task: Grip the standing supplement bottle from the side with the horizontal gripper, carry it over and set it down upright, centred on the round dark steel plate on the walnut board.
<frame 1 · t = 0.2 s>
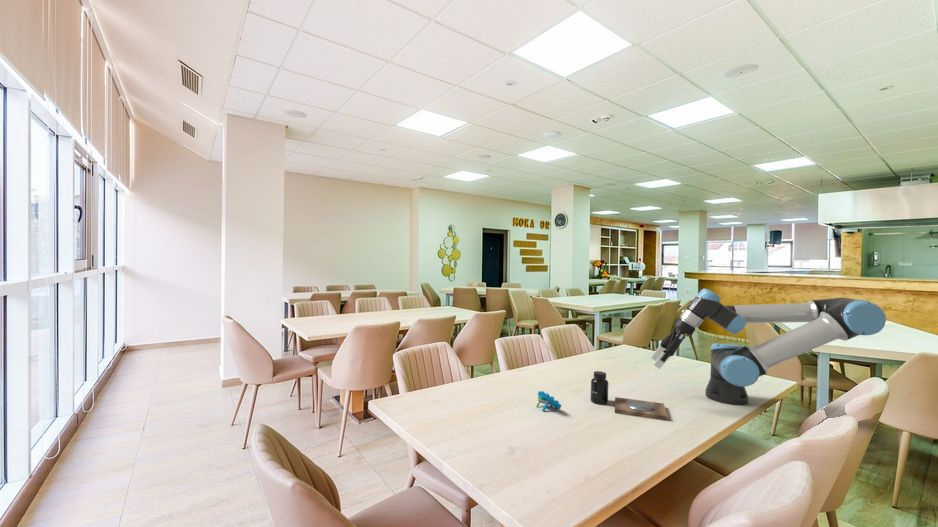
hand: (654, 363, 161), 15 cm above the table, tool tilted 35°, fingers open, 13 cm apart
walnut board: (639, 410, 149), on the table
gear: (548, 409, 149), on the table
supplement bottle: (599, 402, 157), on the table
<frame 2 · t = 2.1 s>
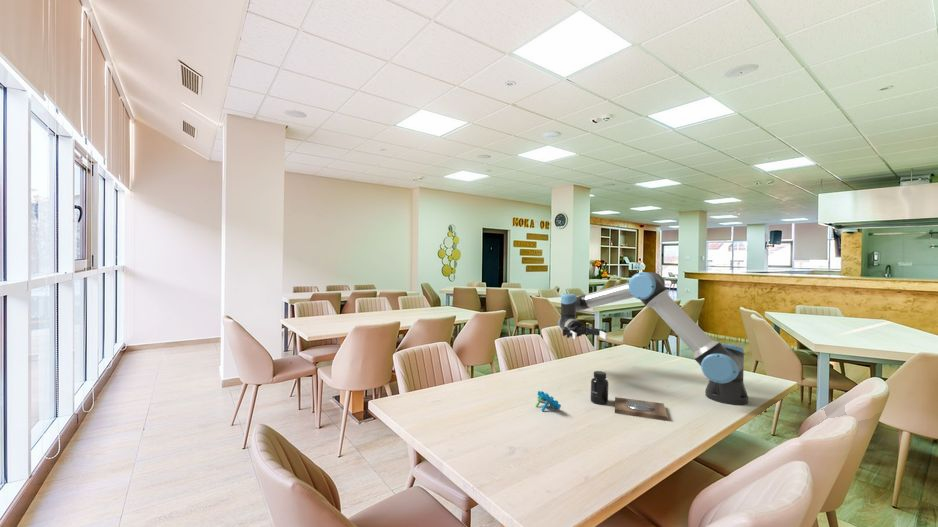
hand: (591, 336, 167), 25 cm above the table, tool horizontal, fingers open, 13 cm apart
nothing on the table moved.
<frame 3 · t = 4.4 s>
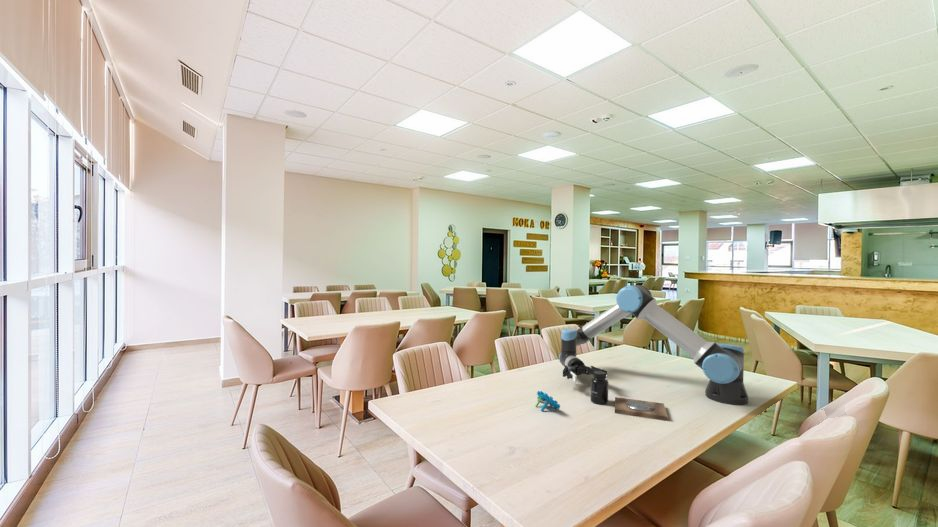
hand: (591, 379, 165), 7 cm above the table, tool horizontal, fingers open, 13 cm apart
nothing on the table moved.
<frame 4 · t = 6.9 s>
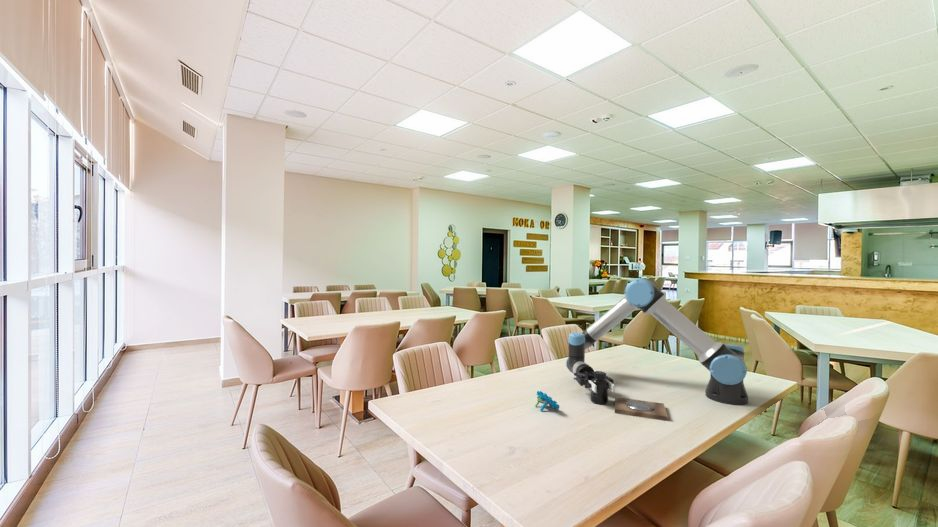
hand: (604, 388, 152), 7 cm above the table, tool horizontal, fingers closed on supplement bottle, 7 cm apart
supplement bottle: (599, 402, 157), on the table, touching gripper
everything else where it was.
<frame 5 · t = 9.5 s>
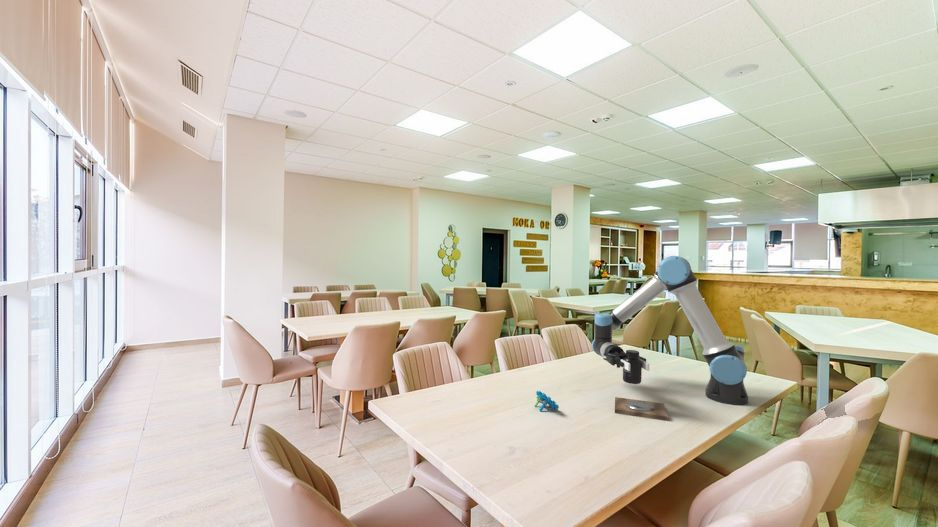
hand: (638, 367, 145), 18 cm above the table, tool horizontal, fingers closed on supplement bottle, 7 cm apart
supplement bottle: (632, 382, 150), point 10 cm above the table, touching gripper
everything else where it was.
when the fingers open (10 cm above the table, at t = 12.0 s): supplement bottle drops 1 cm, resting on walnut board.
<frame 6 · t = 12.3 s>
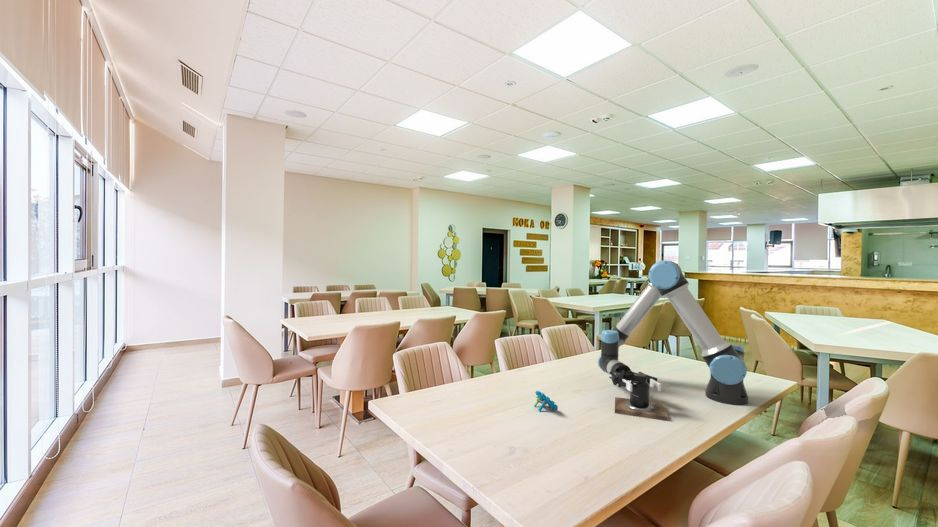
hand: (645, 387, 145), 10 cm above the table, tool horizontal, fingers open, 10 cm apart
supplement bottle: (639, 405, 149), point 2 cm above the table, touching walnut board
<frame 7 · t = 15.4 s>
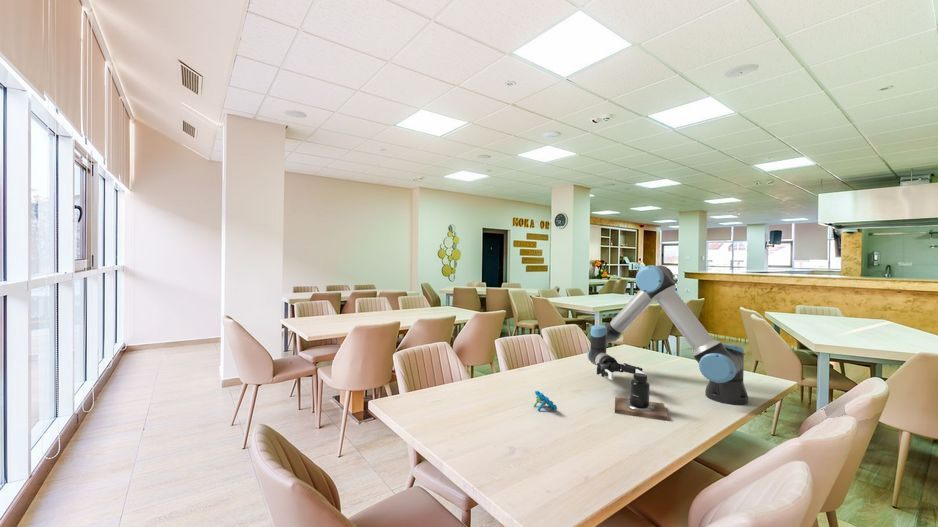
hand: (628, 376, 158), 10 cm above the table, tool horizontal, fingers open, 13 cm apart
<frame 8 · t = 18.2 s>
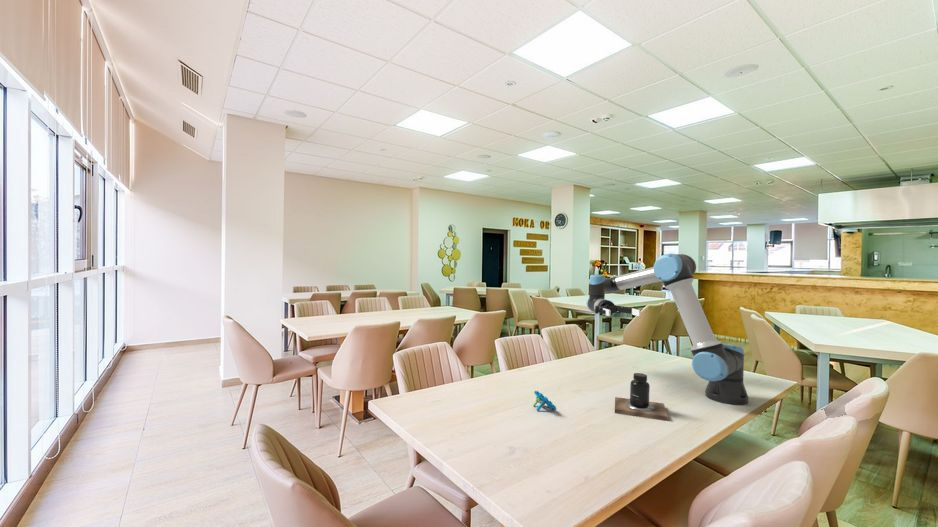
hand: (624, 313, 167), 35 cm above the table, tool horizontal, fingers open, 13 cm apart
at the end: supplement bottle inside the target area on the walnut board (0.1 cm from its centre), point 1.6 cm above the walnut board's base; supplement bottle tilted 0°; the gripper is holding nothing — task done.
